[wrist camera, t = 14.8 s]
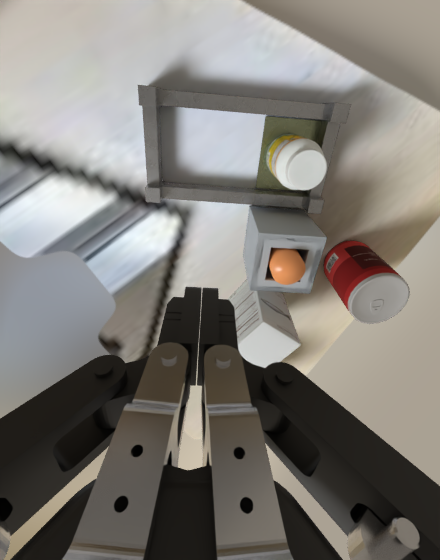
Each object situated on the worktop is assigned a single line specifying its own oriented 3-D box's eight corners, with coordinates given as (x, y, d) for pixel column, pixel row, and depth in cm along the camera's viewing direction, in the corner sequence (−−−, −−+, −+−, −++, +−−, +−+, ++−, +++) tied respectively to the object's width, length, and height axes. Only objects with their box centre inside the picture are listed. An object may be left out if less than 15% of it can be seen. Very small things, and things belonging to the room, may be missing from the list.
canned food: (327, 287, 48) (355, 331, 38) (316, 250, 44) (344, 288, 35) (372, 271, 46) (412, 313, 37) (365, 231, 42) (408, 266, 33)
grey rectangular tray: (152, 193, 39) (146, 201, 35) (145, 87, 32) (137, 84, 29) (311, 204, 40) (320, 213, 36) (337, 104, 33) (351, 104, 30)
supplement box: (284, 293, 48) (303, 346, 38) (255, 318, 51) (266, 374, 41) (252, 271, 46) (264, 321, 35) (225, 299, 49) (228, 353, 38)
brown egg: (261, 258, 39) (269, 283, 34) (266, 232, 37) (275, 254, 31) (289, 260, 39) (301, 285, 34) (295, 234, 37) (309, 256, 32)
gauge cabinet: (243, 255, 44) (249, 290, 36) (249, 206, 40) (259, 233, 31) (293, 258, 44) (311, 293, 36) (304, 210, 40) (328, 237, 32)
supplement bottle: (257, 160, 36) (269, 176, 28) (285, 123, 34) (307, 128, 26) (286, 185, 38) (306, 206, 30) (315, 151, 36) (344, 164, 28)
